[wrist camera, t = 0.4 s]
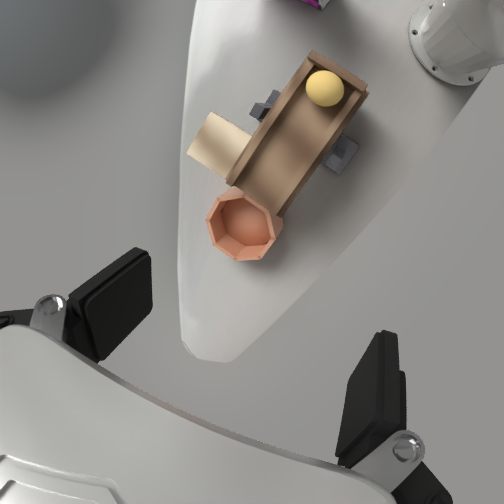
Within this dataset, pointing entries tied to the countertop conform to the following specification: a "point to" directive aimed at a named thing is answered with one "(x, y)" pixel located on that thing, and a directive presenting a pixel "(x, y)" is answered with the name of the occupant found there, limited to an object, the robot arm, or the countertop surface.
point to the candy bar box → (317, 3)
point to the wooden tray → (280, 139)
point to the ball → (324, 88)
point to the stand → (336, 154)
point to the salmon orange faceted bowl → (242, 226)
